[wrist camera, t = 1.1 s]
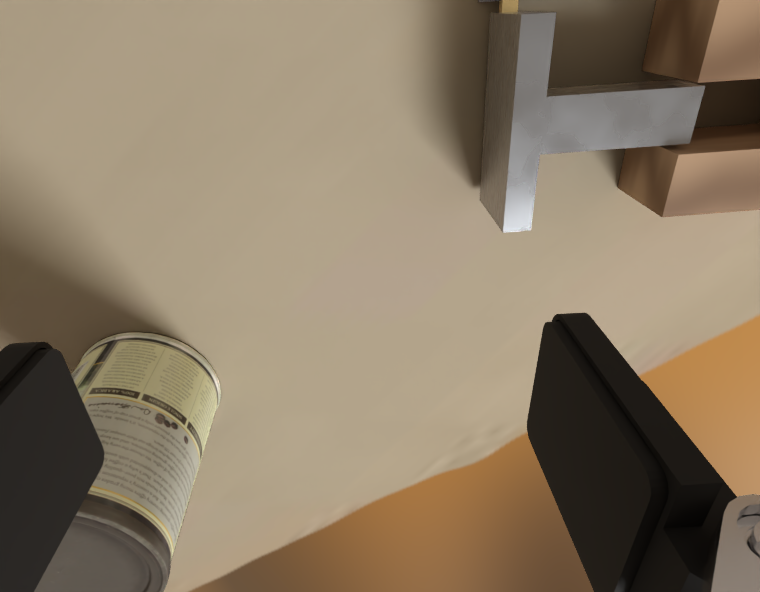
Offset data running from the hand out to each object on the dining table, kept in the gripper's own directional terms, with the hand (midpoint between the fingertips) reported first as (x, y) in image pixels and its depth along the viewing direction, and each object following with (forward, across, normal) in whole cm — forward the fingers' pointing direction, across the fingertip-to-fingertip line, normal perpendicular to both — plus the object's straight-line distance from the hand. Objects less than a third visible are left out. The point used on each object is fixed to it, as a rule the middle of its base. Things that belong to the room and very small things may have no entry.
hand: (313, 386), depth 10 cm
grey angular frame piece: (+21, -13, -2) cm, 25 cm away
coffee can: (+22, +15, +17) cm, 32 cm away
